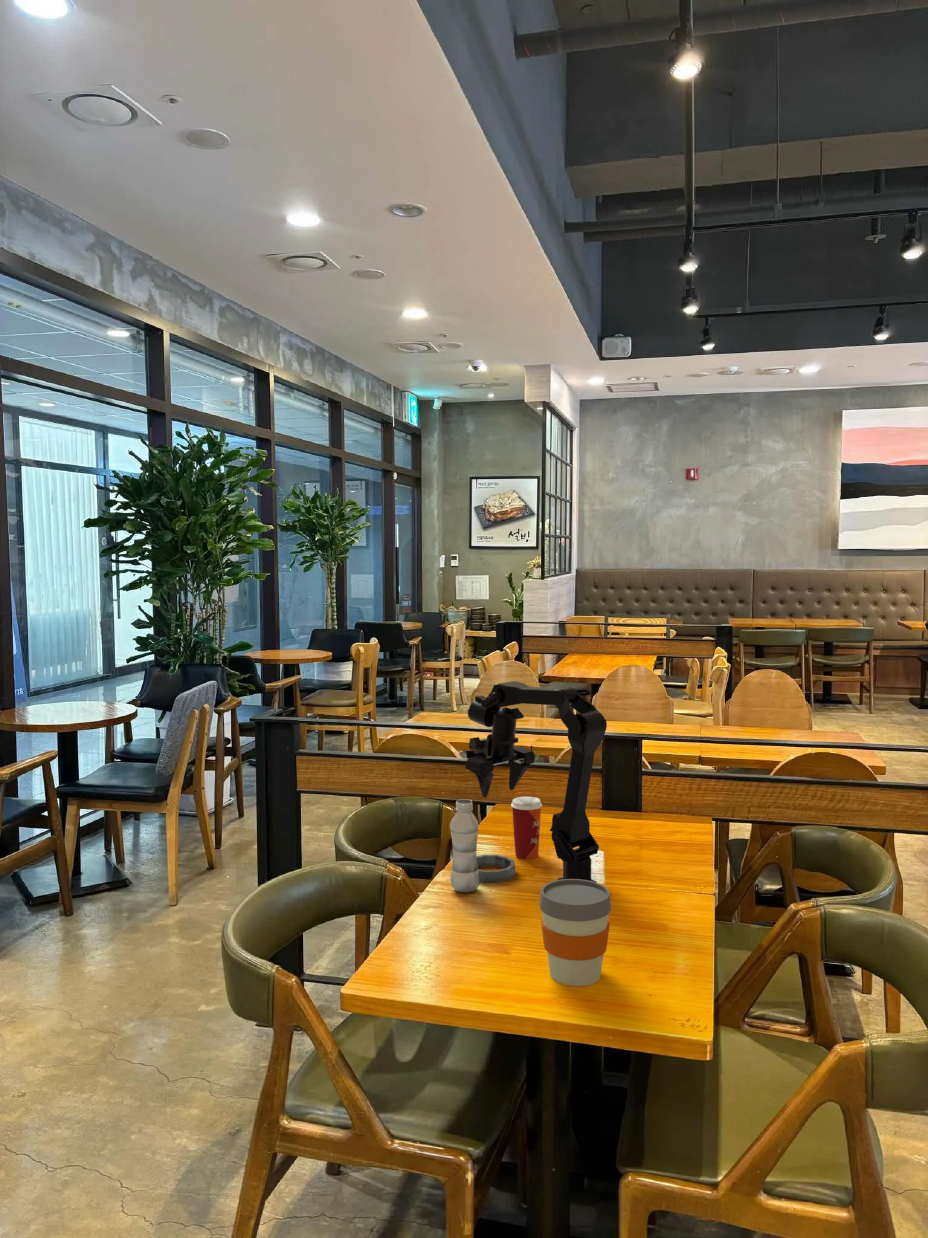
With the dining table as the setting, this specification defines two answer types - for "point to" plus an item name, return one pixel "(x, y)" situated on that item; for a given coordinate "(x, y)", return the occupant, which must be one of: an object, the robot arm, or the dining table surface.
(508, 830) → the dining table surface
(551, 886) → the reusable coffee cup
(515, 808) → the paper cup
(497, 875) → the collar
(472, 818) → the plastic bottle
